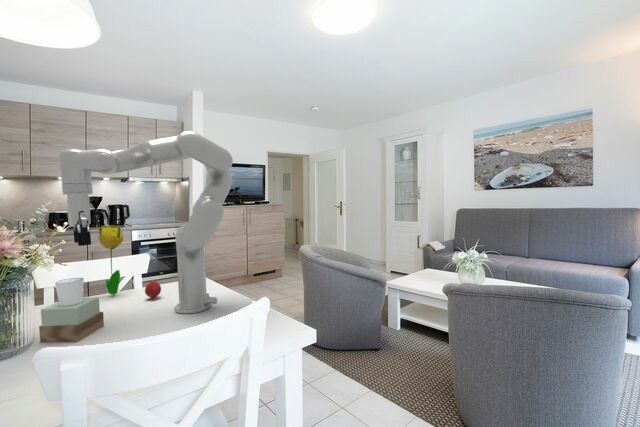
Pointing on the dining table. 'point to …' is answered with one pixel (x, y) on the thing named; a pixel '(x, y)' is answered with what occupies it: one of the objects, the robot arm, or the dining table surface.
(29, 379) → the dining table surface
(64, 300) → the white cup
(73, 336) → the tower base block
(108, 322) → the dining table surface
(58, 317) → the tower top block
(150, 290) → the onion
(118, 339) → the dining table surface
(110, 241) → the flower
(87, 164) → the robot arm
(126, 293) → the dining table surface
